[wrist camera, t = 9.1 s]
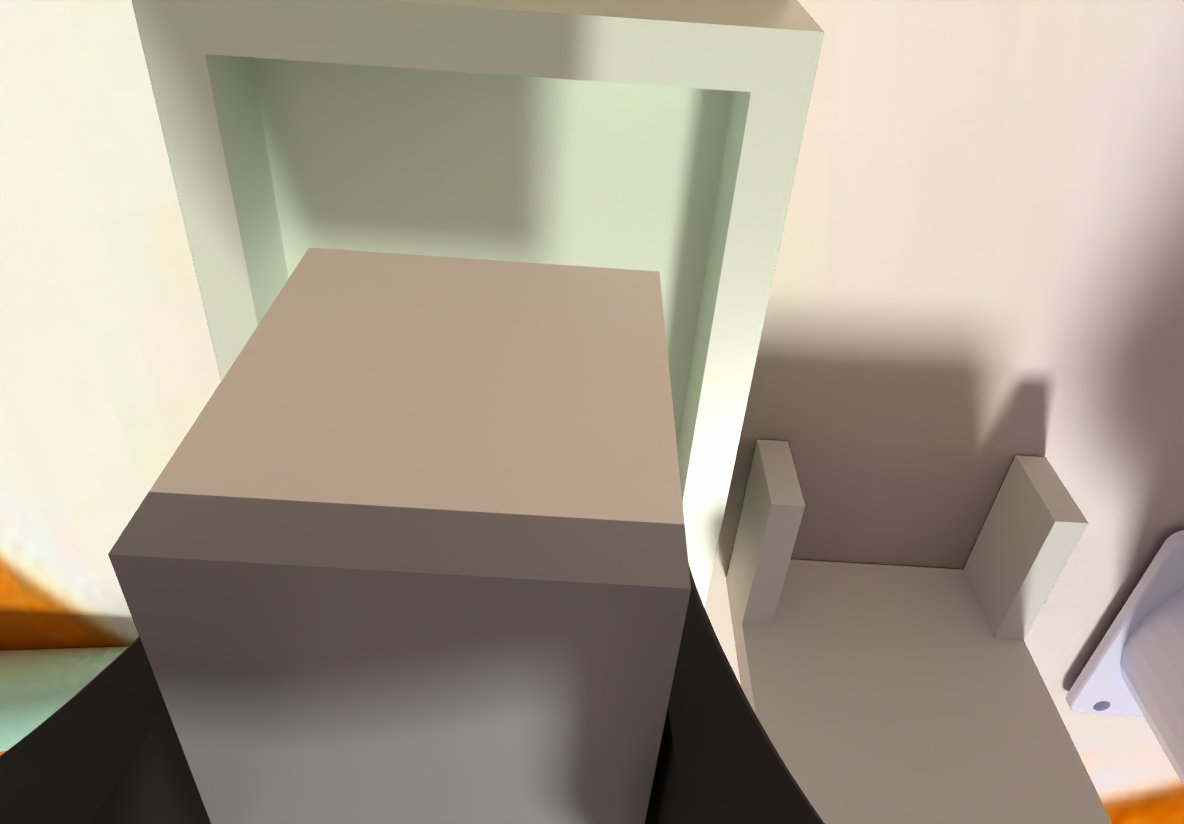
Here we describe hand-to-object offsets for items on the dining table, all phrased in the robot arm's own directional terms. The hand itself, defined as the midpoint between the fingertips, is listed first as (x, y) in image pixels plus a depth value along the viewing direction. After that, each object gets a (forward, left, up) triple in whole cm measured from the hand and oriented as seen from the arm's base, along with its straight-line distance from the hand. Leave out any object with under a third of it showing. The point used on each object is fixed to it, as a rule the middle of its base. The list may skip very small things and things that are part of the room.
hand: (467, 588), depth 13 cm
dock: (-10, +6, -9) cm, 15 cm away
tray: (0, 0, -9) cm, 9 cm away
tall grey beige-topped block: (0, 0, -2) cm, 2 cm away
